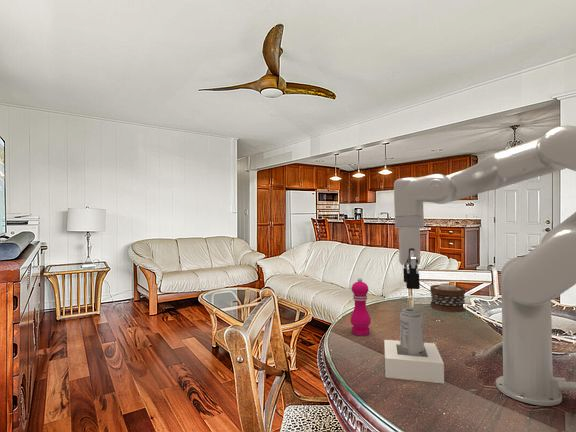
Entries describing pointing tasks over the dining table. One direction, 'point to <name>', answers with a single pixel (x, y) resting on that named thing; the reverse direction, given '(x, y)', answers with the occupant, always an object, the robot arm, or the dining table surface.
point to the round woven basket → (447, 297)
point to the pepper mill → (360, 309)
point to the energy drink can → (411, 332)
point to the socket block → (413, 363)
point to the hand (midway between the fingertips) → (411, 285)
